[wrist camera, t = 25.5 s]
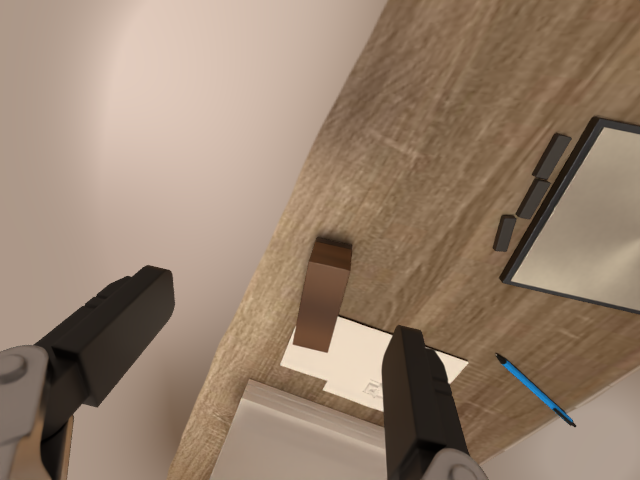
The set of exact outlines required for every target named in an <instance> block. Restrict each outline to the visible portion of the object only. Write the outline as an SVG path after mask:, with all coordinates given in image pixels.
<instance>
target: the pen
mask: <svg viewBox="0 0 640 480" xmlns="http://www.w3.org/2000/svg"><path fill="white" fill-rule="evenodd" d="M495 355H496V357H497V358H498V360H499V361H500V363H501V364H502V365H503V366H504V367H506V368H507V369H508V370H509V371H510V372H511V373H512V374H513V375H514V376H516V377H517V378H518V379H519V380H520V381H521V382H522V383H523V384H524V385H526V386H527V387H528V388H529V389H530V390H531V391H532V392H533V393H534V394H536V395H537V396H538V397H539V398H540V399H541V400H542V401H543V402H544V403H546V404H547V405H548V406H549V407H550V408H551V409H552V410H553V411H554V412H556V413H557V414H558V415H559V416H560V417H561V418H562V419H563V420H564V421H566V422H567V423H568V424H569V425H572V426H574V427H576V425H575V424H574V423H573V420H572V419H571V418H570V417H569V416H568V415H567V414H566V413H564V412H563V411H562V410H561V409H560V408H559V407H558V406H557V405H556V404H555V403H553V402H552V401H551V400H550V399H549V398H548V397H547V396H546V395H545V394H544V393H543V392H541V391H540V390H539V389H538V388H537V387H536V386H535V385H534V384H533V383H532V382H530V381H529V380H528V379H527V378H526V377H525V376H524V375H523V374H522V373H521V372H519V371H518V370H517V369H516V368H515V367H514V366H513V365H512V364H511V363H510V362H508V361H507V360H506V359H505V358H503V357H501V356H499V355H497V354H495Z"/></svg>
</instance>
